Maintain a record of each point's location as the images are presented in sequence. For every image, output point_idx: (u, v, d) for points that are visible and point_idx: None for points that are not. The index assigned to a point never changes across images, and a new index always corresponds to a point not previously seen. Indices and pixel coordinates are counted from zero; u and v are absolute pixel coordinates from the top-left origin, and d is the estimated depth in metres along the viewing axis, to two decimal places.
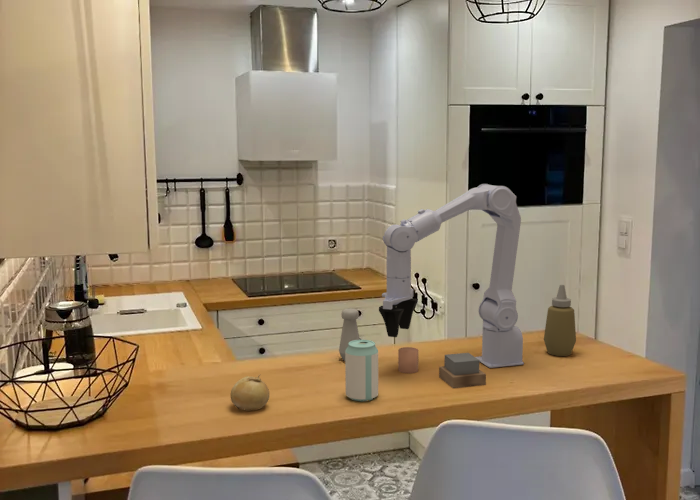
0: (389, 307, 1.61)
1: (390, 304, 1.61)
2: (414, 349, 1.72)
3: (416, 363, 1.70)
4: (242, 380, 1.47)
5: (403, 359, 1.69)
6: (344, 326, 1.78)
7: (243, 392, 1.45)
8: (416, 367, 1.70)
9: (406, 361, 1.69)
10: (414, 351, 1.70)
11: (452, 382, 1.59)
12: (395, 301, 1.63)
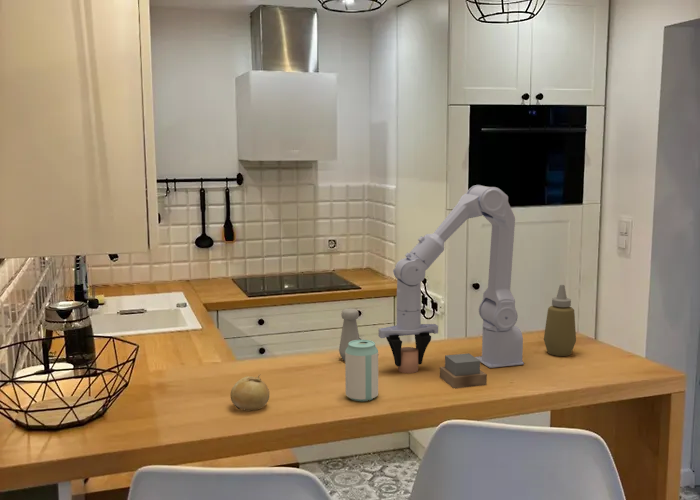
0: (380, 336, 1.68)
1: (381, 333, 1.68)
2: (414, 349, 1.72)
3: (416, 362, 1.70)
4: (242, 380, 1.47)
5: (403, 359, 1.69)
6: (344, 326, 1.78)
7: (243, 392, 1.45)
8: (416, 367, 1.70)
9: (406, 361, 1.69)
10: (414, 351, 1.70)
11: (453, 382, 1.59)
12: (389, 331, 1.68)
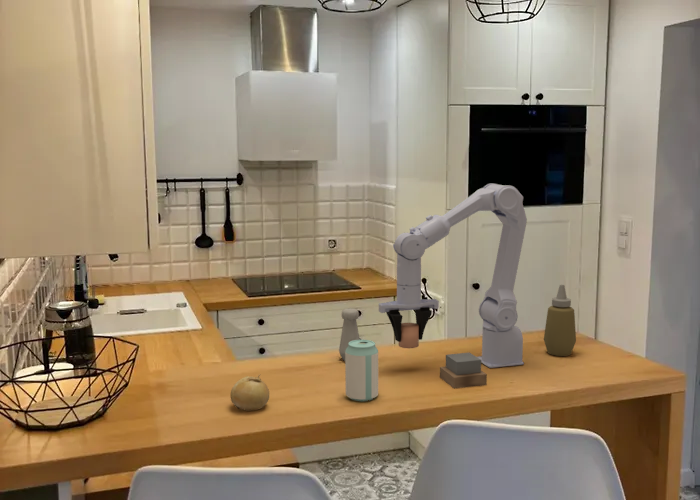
0: (380, 310, 1.67)
1: (381, 308, 1.67)
2: (414, 324, 1.71)
3: (417, 338, 1.69)
4: (242, 380, 1.47)
5: (404, 334, 1.69)
6: (344, 326, 1.78)
7: (243, 392, 1.45)
8: (416, 342, 1.69)
9: (406, 336, 1.68)
10: (415, 326, 1.69)
11: (453, 382, 1.59)
12: (389, 306, 1.67)
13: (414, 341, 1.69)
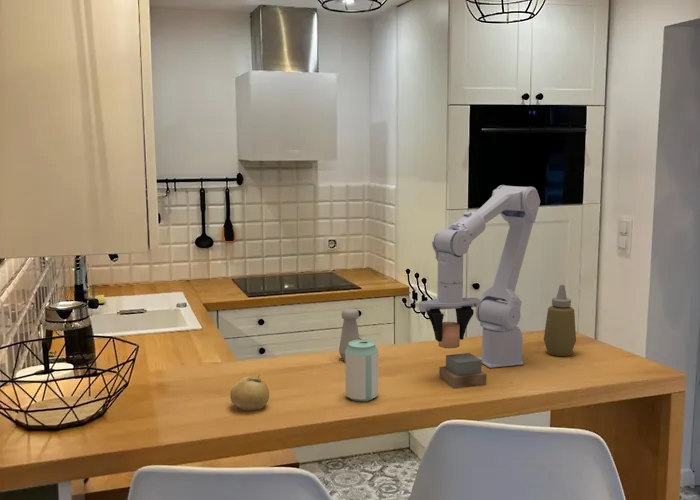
0: (421, 309, 1.61)
1: (421, 306, 1.61)
2: (455, 323, 1.65)
3: (458, 337, 1.63)
4: (242, 380, 1.47)
5: (445, 334, 1.62)
6: (344, 326, 1.78)
7: (243, 392, 1.45)
8: (458, 342, 1.63)
9: (447, 335, 1.62)
10: (456, 325, 1.63)
11: (453, 382, 1.59)
12: (430, 305, 1.61)
13: (455, 341, 1.63)
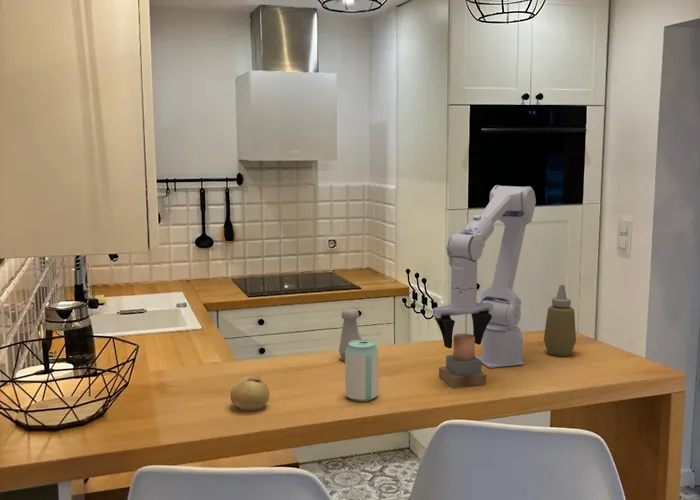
0: (436, 315, 1.58)
1: (437, 313, 1.58)
2: (469, 335, 1.63)
3: (474, 349, 1.62)
4: (242, 380, 1.47)
5: (461, 346, 1.61)
6: (344, 326, 1.78)
7: (243, 392, 1.45)
8: (473, 354, 1.62)
9: (464, 347, 1.61)
10: (471, 337, 1.62)
11: (453, 383, 1.59)
12: (445, 311, 1.58)
13: (471, 353, 1.61)
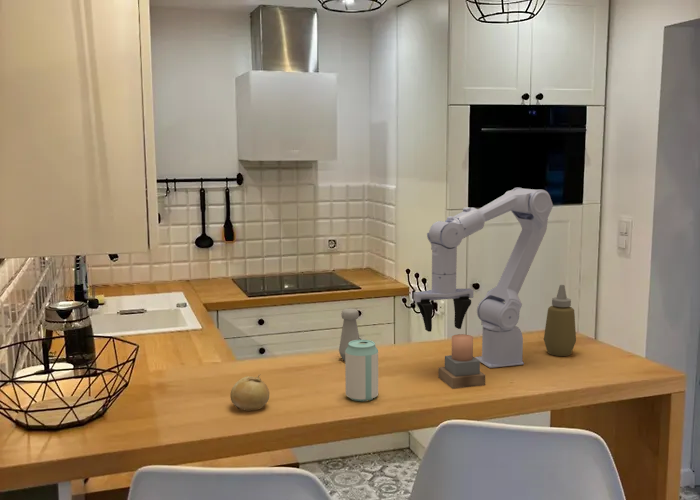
0: (416, 299, 1.65)
1: (416, 297, 1.65)
2: (468, 336, 1.63)
3: (472, 350, 1.62)
4: (242, 380, 1.47)
5: (460, 347, 1.60)
6: (344, 326, 1.78)
7: (243, 392, 1.45)
8: (472, 354, 1.62)
9: (462, 348, 1.60)
10: (470, 338, 1.61)
11: (452, 383, 1.59)
12: (425, 295, 1.65)
13: (470, 353, 1.61)
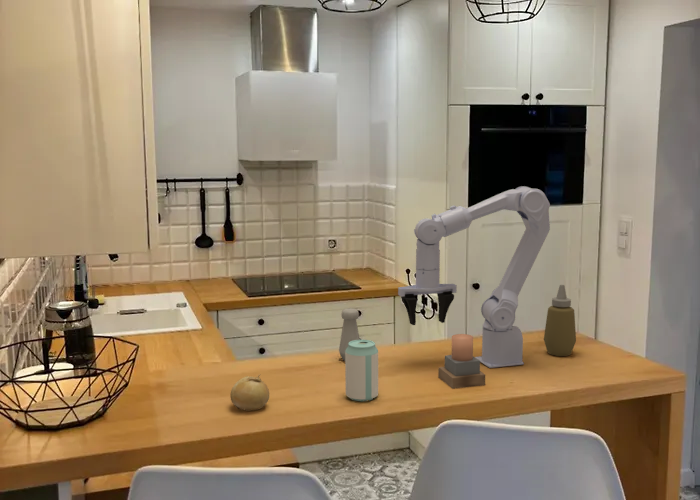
0: (400, 294, 1.71)
1: (401, 291, 1.71)
2: (468, 335, 1.63)
3: (472, 350, 1.62)
4: (242, 380, 1.47)
5: (460, 347, 1.60)
6: (344, 326, 1.78)
7: (243, 392, 1.45)
8: (472, 354, 1.62)
9: (462, 348, 1.60)
10: (470, 337, 1.61)
11: (452, 383, 1.59)
12: (409, 290, 1.71)
13: (470, 353, 1.61)
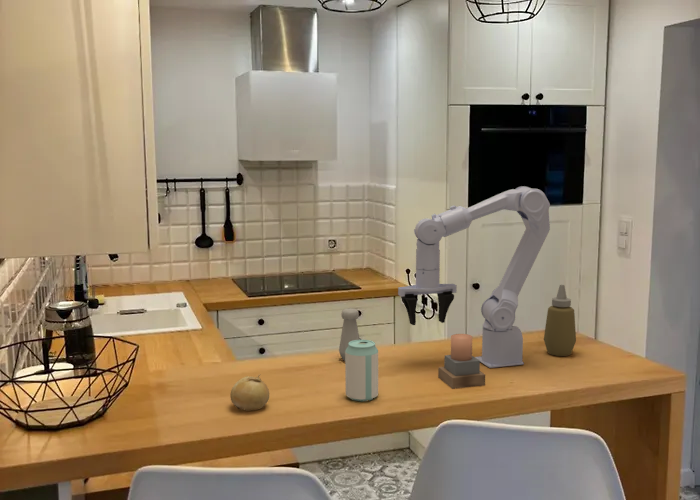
0: (400, 294, 1.71)
1: (401, 291, 1.71)
2: (467, 335, 1.63)
3: (471, 349, 1.62)
4: (242, 380, 1.47)
5: (459, 347, 1.60)
6: (344, 326, 1.78)
7: (243, 392, 1.45)
8: (471, 354, 1.62)
9: (461, 348, 1.60)
10: (469, 337, 1.61)
11: (452, 383, 1.59)
12: (409, 290, 1.71)
13: (469, 353, 1.61)
